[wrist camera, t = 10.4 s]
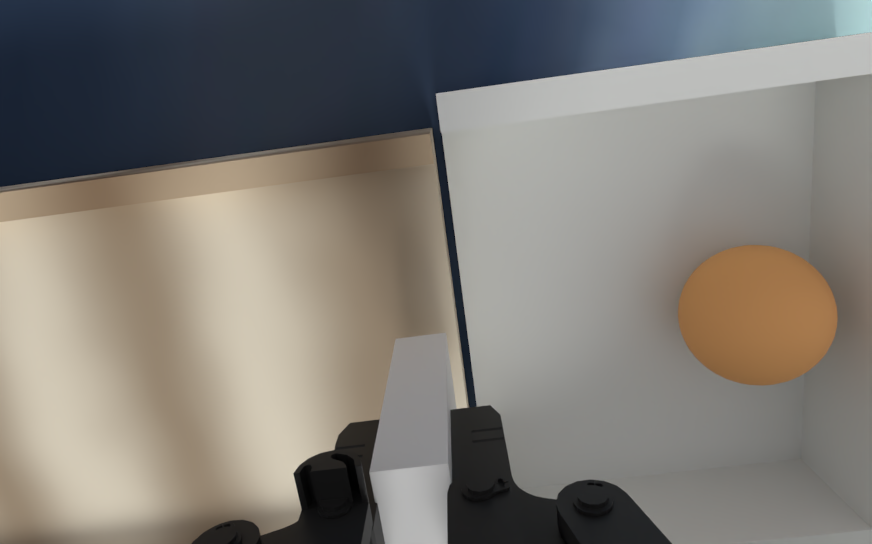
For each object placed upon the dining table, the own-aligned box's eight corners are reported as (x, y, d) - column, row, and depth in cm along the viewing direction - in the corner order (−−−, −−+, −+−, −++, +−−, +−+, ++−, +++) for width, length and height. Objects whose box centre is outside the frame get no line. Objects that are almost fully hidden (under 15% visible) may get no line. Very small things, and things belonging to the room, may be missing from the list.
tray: (489, 504, 24) (499, 592, 20) (437, 95, 20) (435, 93, 15) (817, 469, 23) (902, 552, 19) (837, 39, 19) (954, 20, 15)
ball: (776, 341, 21) (657, 358, 21) (781, 223, 20) (654, 240, 20) (869, 400, 17) (720, 422, 17) (882, 255, 16) (722, 278, 16)
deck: (1, 536, 25) (-86, 621, 21) (-131, 205, 21) (-269, 229, 17) (479, 483, 24) (486, 562, 20) (432, 127, 20) (429, 133, 16)
